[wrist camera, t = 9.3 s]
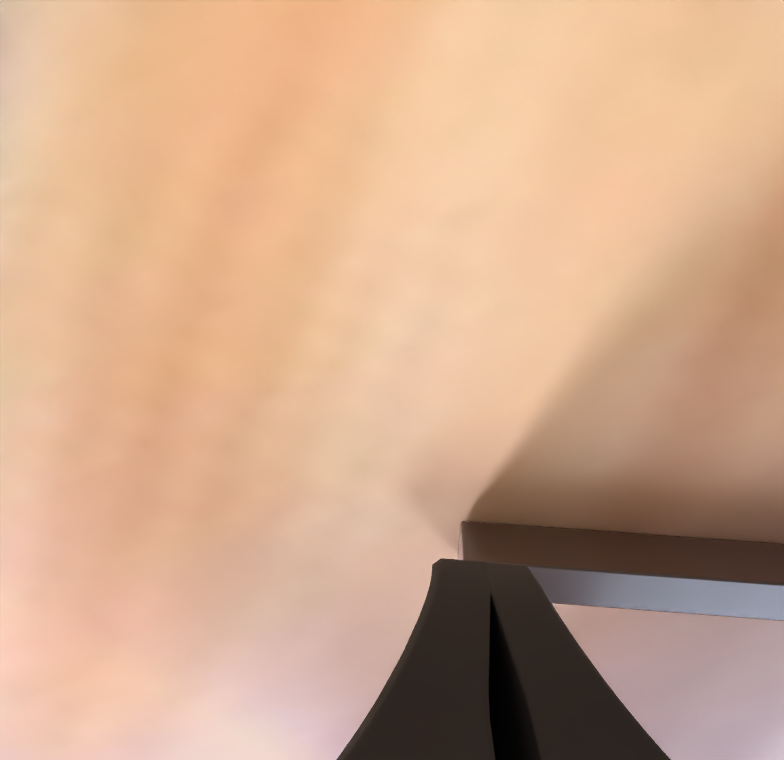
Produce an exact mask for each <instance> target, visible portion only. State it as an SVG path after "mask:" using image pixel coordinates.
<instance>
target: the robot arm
mask: <svg viewBox="0 0 784 760" xmlns="http://www.w3.org/2000/svg"><path fill="white" fill-rule="evenodd" d="M337 760H671V759H670V758H669V757H668V756H667V755H666V754H665V753H664V752H663V751H662V750H661V748H660V747H659V746H658V745H657V744H656V743H655V742H654V740H653V739H652V738H651V737H650V736H649V735H648V734H647V732H646V731H645V730H644V729H643V728H642V727H641V725H640V724H639V723H638V722H637V720H636V719H635V718H634V717H633V716H632V714H631V713H630V712H629V711H628V709H627V708H626V707H625V706H624V704H623V703H622V702H621V701H620V700H619V698H618V697H617V696H616V694H615V693H614V692H613V691H612V689H611V688H610V687H609V685H608V684H607V683H606V682H605V680H604V679H603V678H602V676H601V675H600V673H599V672H598V671H597V669H596V668H595V667H594V665H593V664H592V662H591V661H590V660H589V658H588V657H587V655H586V654H585V653H584V651H583V650H582V649H581V647H580V646H579V644H578V643H577V642H576V640H575V639H574V637H573V636H572V634H571V633H570V631H569V630H568V628H567V627H566V625H565V624H564V622H563V621H562V619H561V618H560V616H559V615H558V613H557V612H556V610H555V608H554V607H553V605H552V604H551V602H550V600H549V599H548V597H547V596H546V594H545V592H544V591H543V589H542V587H541V586H540V584H539V582H538V581H537V579H536V577H535V576H534V574H533V572H532V571H531V570H530V569H529V568H528V567H527V565H514V564H502V563H490V562H478V561H466V560H454V559H440V560H438V561H437V562H436V563H434V564H433V565H432V576H431V582H430V587H429V590H428V594H427V597H426V600H425V603H424V605H423V608H422V611H421V613H420V616H419V619H418V621H417V623H416V625H415V627H414V630H413V632H412V634H411V636H410V638H409V641H408V643H407V645H406V647H405V649H404V652H403V654H402V656H401V657H400V659H399V661H398V663H397V665H396V667H395V668H394V670H393V672H392V674H391V676H390V677H389V679H388V681H387V683H386V685H385V686H384V688H383V690H382V692H381V693H380V695H379V697H378V699H377V700H376V702H375V704H374V705H373V707H372V708H371V710H370V712H369V713H368V715H367V716H366V718H365V719H364V721H363V722H362V724H361V726H360V727H359V729H358V730H357V731H356V733H355V734H354V736H353V737H352V739H351V740H350V742H349V743H348V744H347V746H346V747H345V749H344V750H343V752H342V753H341V754H340V756H339V757H338V758H337Z"/></svg>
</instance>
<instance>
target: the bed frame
mask: <svg viewBox="0 0 784 760" xmlns="http://www.w3.org/2000/svg"><path fill="white" fill-rule="evenodd" d="M458 560H466V561H478V562H490V563H502V564H514V565H527V567H528V568H529V569H530V570H531V571H532V572H533V574H534V576H535V577H536V579H537V581H538V582H539V584H540V586H541V587H542V589H543V591H544V592H545V594H546V596H547V597H548V599H549V600H550V602H551V603H556V604H569V605H582V606H595V607H609V608H622V609H635V610H648V611H662V612H675V613H688V614H701V615H715V616H728V617H741V618H754V619H768V620H781V621H784V544H773V543H760V542H746V541H732V540H718V539H704V538H690V537H676V536H662V535H648V534H634V533H620V532H606V531H592V530H578V529H564V528H550V527H536V526H522V525H508V524H494V523H481V522H467V521H462V522H461V527H460V537H459V548H458Z"/></svg>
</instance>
